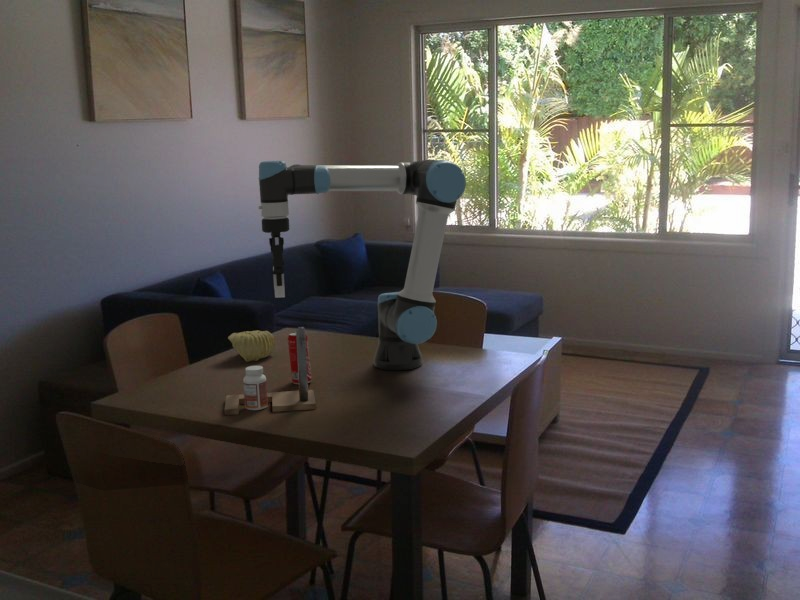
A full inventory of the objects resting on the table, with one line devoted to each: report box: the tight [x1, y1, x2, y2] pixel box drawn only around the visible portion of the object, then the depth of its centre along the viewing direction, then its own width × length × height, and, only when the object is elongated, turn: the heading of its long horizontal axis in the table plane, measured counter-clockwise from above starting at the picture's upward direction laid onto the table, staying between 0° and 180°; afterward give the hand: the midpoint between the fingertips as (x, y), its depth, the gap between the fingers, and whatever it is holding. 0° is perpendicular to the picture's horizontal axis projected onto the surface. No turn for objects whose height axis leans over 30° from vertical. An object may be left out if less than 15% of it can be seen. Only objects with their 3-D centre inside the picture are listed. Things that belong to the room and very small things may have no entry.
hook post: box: [295, 326, 309, 402], centre depth 238 cm, size 2×8×23 cm, turn 8°
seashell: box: [227, 329, 276, 363], centre depth 294 cm, size 17×11×15 cm
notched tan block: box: [224, 389, 317, 416], centre depth 244 cm, size 24×13×2 cm, turn 98°
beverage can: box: [287, 331, 313, 385], centre depth 264 cm, size 6×6×15 cm
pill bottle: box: [242, 365, 269, 411], centre depth 242 cm, size 6×6×11 cm
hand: (279, 292), depth 252 cm, fingers open, 13 cm apart
